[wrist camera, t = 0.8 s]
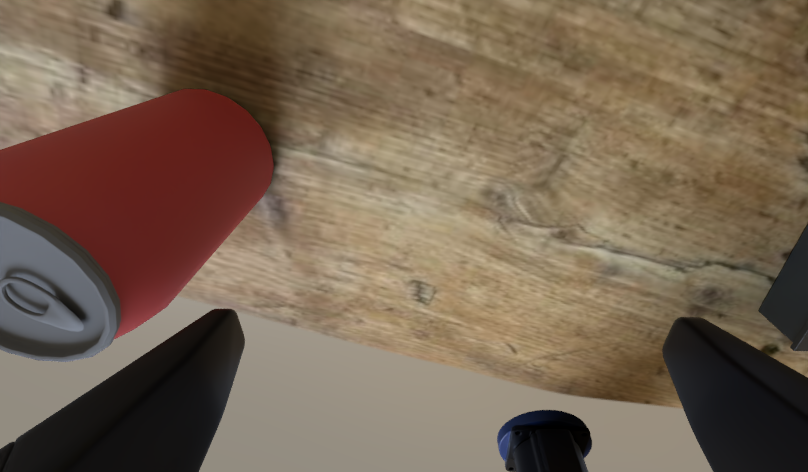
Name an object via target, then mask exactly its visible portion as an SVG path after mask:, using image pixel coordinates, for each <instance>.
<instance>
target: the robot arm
mask: <svg viewBox="0 0 808 472" xmlns="http://www.w3.org/2000/svg"><path fill="white" fill-rule="evenodd" d="M244 344H245V339H244V334H243V331H242V328H241V325H240V322H239V319H238V316H237V313H236V312H235V311H234V310H232V309H214V310H212V311H210V312H209V313H207V314H205V315H204V316H202V317H201V318H199V319H198V320H196V321H195V322H193V323H192V324H190V325H188V326H187V327H185V328H184V329H182V330H181V331H179V332H178V333H176V334H175V335H173V336H172V337H170V338H169V339H167V340H166V341H165V342H163V343H161V344H160V345H158V346H157V347H155V348H154V349H152V350H150V351H149V352H148V353H146V354H144V355H143V356H141V357H140V358H138V359H137V360H135V361H134V362H132V363H131V364H129V365H128V366H126V367H125V368H123V369H122V370H120V371H119V372H117V373H116V374H114V375H113V376H111V377H109V378H108V379H106V380H105V381H103V382H102V383H100V384H99V385H97V386H96V387H94V388H93V389H91V390H90V391H88V392H87V393H85V394H84V395H82V396H81V397H79V398H78V399H76V400H75V401H73V402H72V403H70V404H68V405H67V406H66V407H64V408H62V409H61V410H59V411H58V412H56V413H55V414H53V415H52V416H50V417H49V418H47V419H46V420H44V421H43V422H41V423H40V424H38V425H36V426H35V427H34V428H32V429H30V430H29V431H27V432H26V433H24V434H23V435H21V436H20V437H18V438H17V440H16V441H15V442H11V443H9V444H7V445H6V446H4V447H3V448H1V449H0V472H199V470H200V467H201V465H202V463H203V460H204V458H205V456H206V454H207V451H208V449H209V447H210V444H211V442H212V440H213V437H214V435H215V433H216V430H217V428H218V425H219V423H220V420H221V418H222V415H223V412H224V410H225V407H226V403H227V400H228V397H229V394H230V391H231V388H232V384H233V381H234V378H235V375H236V372H237V368H238V365H239V362H240V359H241V355H242V352H243V349H244ZM662 352H663V358H664V361H665V363H666V366H667V368H668V371H669V373H670V376H671V378H672V381H673V383H674V386H675V388H676V391H677V393H678V396H679V398H680V401H681V403H682V406H683V408H684V411H685V413H686V416H687V419H688V421H689V423H690V425H691V428H692V430H693V432H694V434H695V436H696V439H697V441H698V443H699V445H700V447H701V448H702V451H703V453H704V454H705V456H706V458H707V460H708V462H709V464H710V466H711V468H712V470H713V471H714V472H808V378H807V377H805V376H804V375H802V374H800V373H798V372H797V371H795V370H793V369H791V368H790V367H788V366H786V365H784V364H783V363H781V362H779V361H777V360H775V359H774V358H772V357H770V356H768V355H767V354H765V353H763V352H761V351H760V350H758V349H756V348H754V347H753V346H751V345H749V344H747V343H746V342H744V341H742V340H740V339H739V338H737V337H735V336H733V335H731V334H730V333H728V332H726V331H724V330H723V329H721V328H719V327H717V326H716V325H714V324H712V323H710V322H709V321H707V320H705V319H703V318H698V317H680V318H678V319H676V320H675V321H674V323H673V325H672V327H671V329H670V331H669V334H668V336H667V338H666V340H665V342H664V344H663V349H662ZM589 438H590V431H589V429H588V428H587V427H578V426H530V425H515V426H513V427H512V428H511V432H510V438H509V443H508V449H507V455H506V461H505V467H506V470H507V471H510V472H588V470H587V467H586V464H585V462H584V459H583V455H584V452H585V449H586V446H587V443H588V440H589Z"/></svg>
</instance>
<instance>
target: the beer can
mask: <svg viewBox="0 0 808 472" xmlns="http://www.w3.org/2000/svg"><path fill="white" fill-rule="evenodd" d="M273 168H274V164H273V158H272V152H271V146H270V144H269V142H268V140H267V138H266V136H265V134H264V132H263V130H262V128H261V126H260V125H259V124H258V123H257V122H256V121H255V120H254V118H253V117H252V116H251V115H250V114H249V113H248V111H247V110H245V109H244V108H242V107H241V106H239V105H238V104H236V103H235V102H234V101H232V100H231V99H229V98H228V97H226V96H223V95H220V94H217V93H214V92H211V91H208V90H206V89H182V90H179V91H176V92H173V93H170V94H167V95H164V96H161V97H158V98H155V99H152V100H149V101H146V102H143V103H140V104H137V105H134V106H131V107H128V108H125V109H122V110H119V111H116V112H113V113H110V114H107V115H104V116H101V117H98V118H95V119H92V120H89V121H86V122H83V123H80V124H77V125H74V126H71V127H68V128H65V129H62V130H59V131H56V132H53V133H50V134H47V135H44V136H41V137H38V138H35V139H32V140H29V141H26V142H23V143H20V144H17V145H14V146H11V147H8V148H5V149H2V150H0V349H1V350H3V351H5V352H8V353H11V354H15V355H19V356H23V357H27V358H31V359H35V360H43V361H61V362H68V361H74V360H79V359H84V358H89V357H93V356H94V355H96V354H97V353H99V352H100V351H102V350H103V349H105V348H106V347H108V346H109V345H110V344H111V343H112V341H113V340H114V339H116V338H118V337H119V336H122V335H124V334H126V333H128V332H130V331H132V330H134V329H135V328H137V327H138V326H140V325H141V324H143V323H144V322H146V321H147V320H149V319H150V318H152V317H153V316H154V315H156V314H157V313H159V312H160V311H161V310H163V309H164V308H166V307H167V306H168V305H169V303H170V302H171V301H172V300H173V299H174V298H175V297H176V296H177V294H178V293H179V292H180V291H181V290H182V289H183V288H184V286H185V285H186V284H187V283H188V282H189V281H190V280H191V278H192V277H193V276H194V275H195V274H196V273H197V271H198V270H199V269H200V268H201V267H202V266H203V265H204V263H205V262H206V261H207V260H208V259H209V258H210V257H211V255H212V254H213V253H214V252H215V251H216V250H217V248H218V247H219V246H220V245H221V244H222V243H223V242H224V240H225V239H226V238H227V237H228V236H229V235H230V234H231V232H232V231H233V230H234V229H235V228H236V227H237V225H238V224H239V223H240V222H241V221H242V220H243V219H244V217H245V216H246V215H247V214H248V213H249V212H250V210H251V209H252V208H253V207H254V206H255V205H256V204H257V202H258V201H259V200H260V199H261V198H262V197H263V195H264V193H265V192H266V190H267V189H268V187H269V185H270V184H271V179H272V174H273Z"/></svg>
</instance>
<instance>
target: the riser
mask: <svg viewBox="0 0 808 472" xmlns="http://www.w3.org/2000/svg"><path fill="white" fill-rule="evenodd" d="M759 312H760V313H761V314H762V315H763V316H765V317H766V318H767V319H768V320H769V321H770V322H771V323H772V324H773V325H774V326H776V327H777V328H778V329H779V330H780V331H781V332H782V333H783V334H784V335H785V336H787V337H788V338H789V339H790V340H791V341H792V342H793V344H792V345H791V347H790V348H791V349H792V350H793V351H808V225H807V227H806V228H805V230H804V232H803V234H802V235H801V237H800V239H799V241H798V242H797V244H796V246H795V248H794V249H793V251H792V253H791V255H790V256H789V258H788V260H787V262H786V263H785V265H784V267H783V269H782V270H781V272H780V274H779V276H778V277H777V279H776V281H775V283H774V284H773V286H772V288H771V290H770V291H769V293H768V295H767V297H766V298H765V300H764V302H763V304H762V305H761V307H760V309H759Z"/></svg>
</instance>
